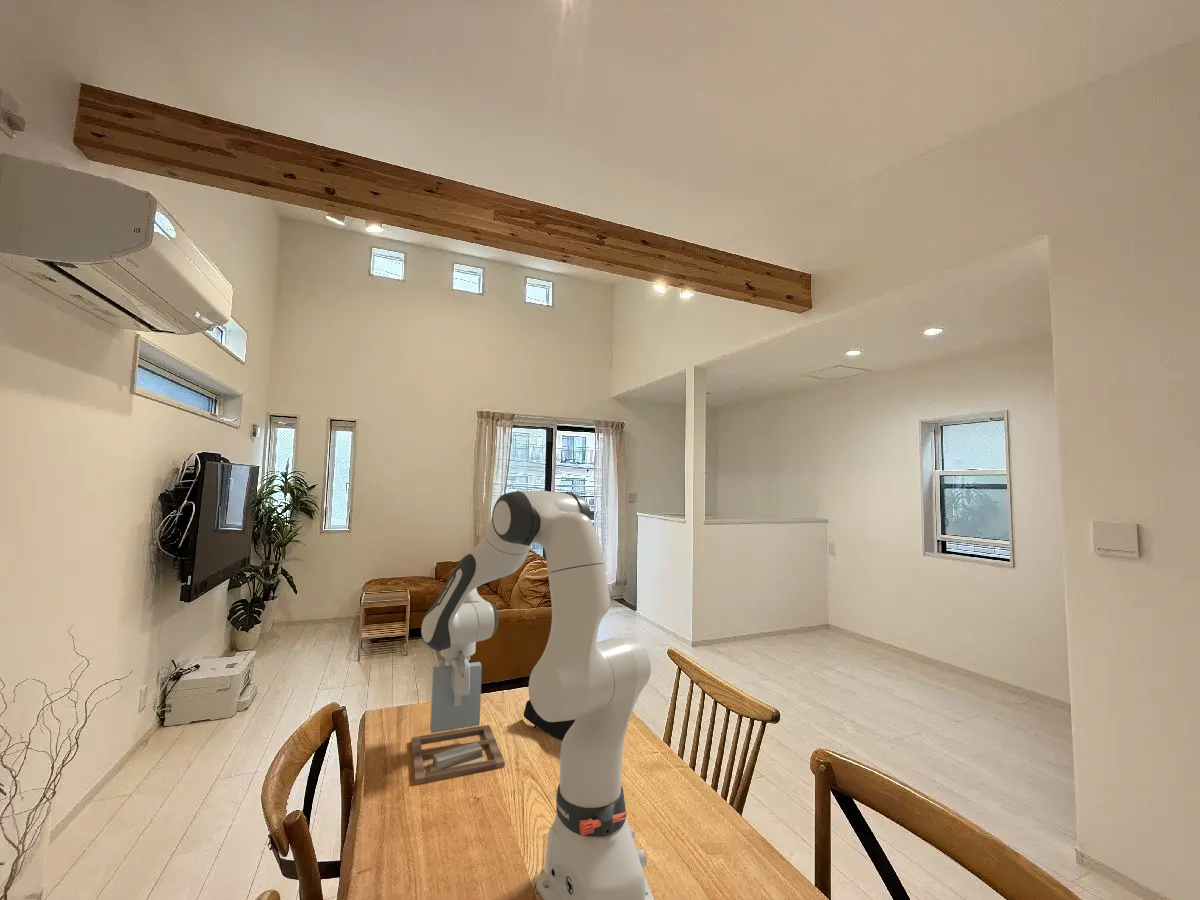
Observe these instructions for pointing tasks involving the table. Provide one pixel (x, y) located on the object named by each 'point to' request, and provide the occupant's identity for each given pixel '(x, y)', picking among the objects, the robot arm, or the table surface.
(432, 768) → the offcut lower
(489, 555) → the robot arm
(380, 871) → the table surface
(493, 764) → the rack
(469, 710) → the sheet
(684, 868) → the table surface
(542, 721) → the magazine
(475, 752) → the offcut upper
